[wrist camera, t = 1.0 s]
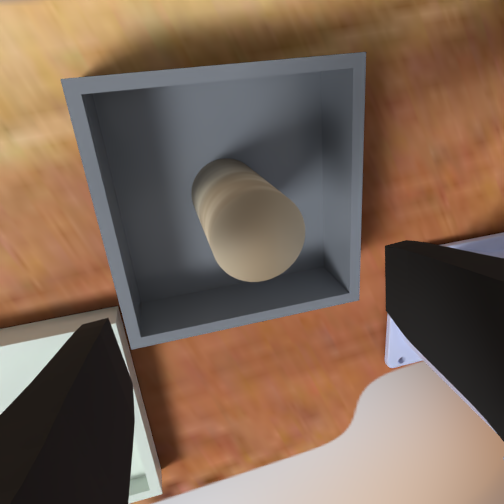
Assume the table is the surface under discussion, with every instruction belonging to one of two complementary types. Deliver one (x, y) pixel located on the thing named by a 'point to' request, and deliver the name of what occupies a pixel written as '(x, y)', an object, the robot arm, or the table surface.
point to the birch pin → (247, 221)
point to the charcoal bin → (202, 153)
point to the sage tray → (43, 350)
